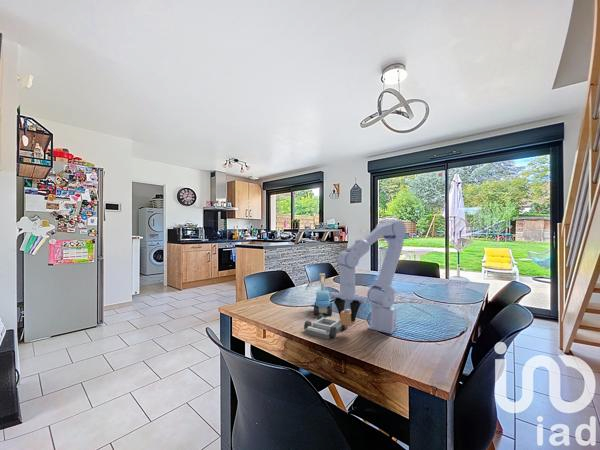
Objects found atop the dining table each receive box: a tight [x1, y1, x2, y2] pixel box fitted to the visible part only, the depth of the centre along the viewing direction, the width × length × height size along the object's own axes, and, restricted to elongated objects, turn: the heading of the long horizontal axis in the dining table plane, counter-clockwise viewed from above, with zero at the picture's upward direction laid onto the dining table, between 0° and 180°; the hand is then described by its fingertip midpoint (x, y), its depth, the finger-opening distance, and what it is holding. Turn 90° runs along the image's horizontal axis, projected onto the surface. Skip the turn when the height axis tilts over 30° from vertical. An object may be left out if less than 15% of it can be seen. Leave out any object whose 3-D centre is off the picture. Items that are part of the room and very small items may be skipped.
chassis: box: [303, 313, 349, 340], centre depth 102 cm, size 12×16×4 cm
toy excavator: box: [313, 273, 333, 316], centre depth 126 cm, size 9×17×17 cm, turn 174°
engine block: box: [339, 308, 356, 327], centre depth 97 cm, size 4×4×5 cm
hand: (347, 319), depth 97 cm, fingers closed on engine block, 4 cm apart
